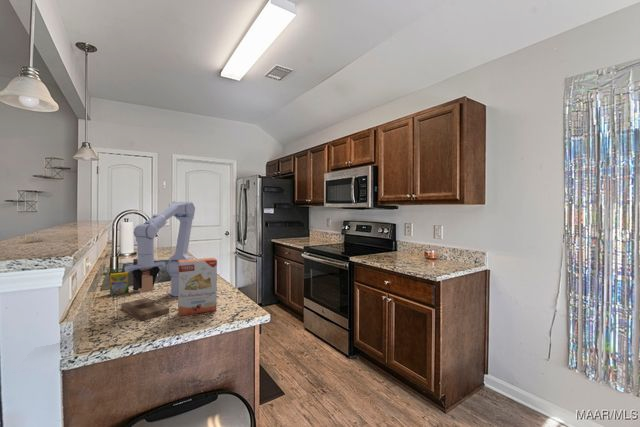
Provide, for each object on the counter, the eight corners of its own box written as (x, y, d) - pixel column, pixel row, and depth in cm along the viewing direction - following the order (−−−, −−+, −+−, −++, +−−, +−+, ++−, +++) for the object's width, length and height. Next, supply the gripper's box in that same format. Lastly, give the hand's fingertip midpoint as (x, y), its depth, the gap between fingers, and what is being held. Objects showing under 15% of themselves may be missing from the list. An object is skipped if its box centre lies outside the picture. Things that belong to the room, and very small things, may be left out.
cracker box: (178, 316, 113) (178, 262, 113) (178, 311, 119) (177, 259, 118) (217, 311, 120) (217, 259, 119) (214, 306, 125) (214, 256, 124)
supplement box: (141, 292, 144) (141, 259, 144) (132, 291, 145) (132, 259, 145) (154, 287, 153) (154, 256, 152) (146, 286, 154) (146, 256, 153)
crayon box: (110, 295, 139) (109, 270, 139) (110, 293, 141) (109, 269, 141) (128, 292, 143) (128, 268, 143) (128, 291, 146) (128, 267, 145)
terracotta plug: (148, 289, 125) (148, 274, 125) (152, 290, 122) (152, 276, 122) (138, 291, 122) (138, 276, 121) (142, 292, 119) (142, 278, 119)
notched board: (147, 302, 130) (147, 297, 130) (169, 312, 117) (169, 307, 117) (121, 308, 122) (121, 303, 122) (141, 320, 109) (141, 315, 109)
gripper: (160, 250, 129) (160, 281, 130) (121, 254, 118) (122, 288, 118) (167, 252, 125) (167, 284, 125) (128, 256, 114) (128, 292, 114)
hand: (145, 286), depth 122 cm, fingers closed on terracotta plug, 4 cm apart
